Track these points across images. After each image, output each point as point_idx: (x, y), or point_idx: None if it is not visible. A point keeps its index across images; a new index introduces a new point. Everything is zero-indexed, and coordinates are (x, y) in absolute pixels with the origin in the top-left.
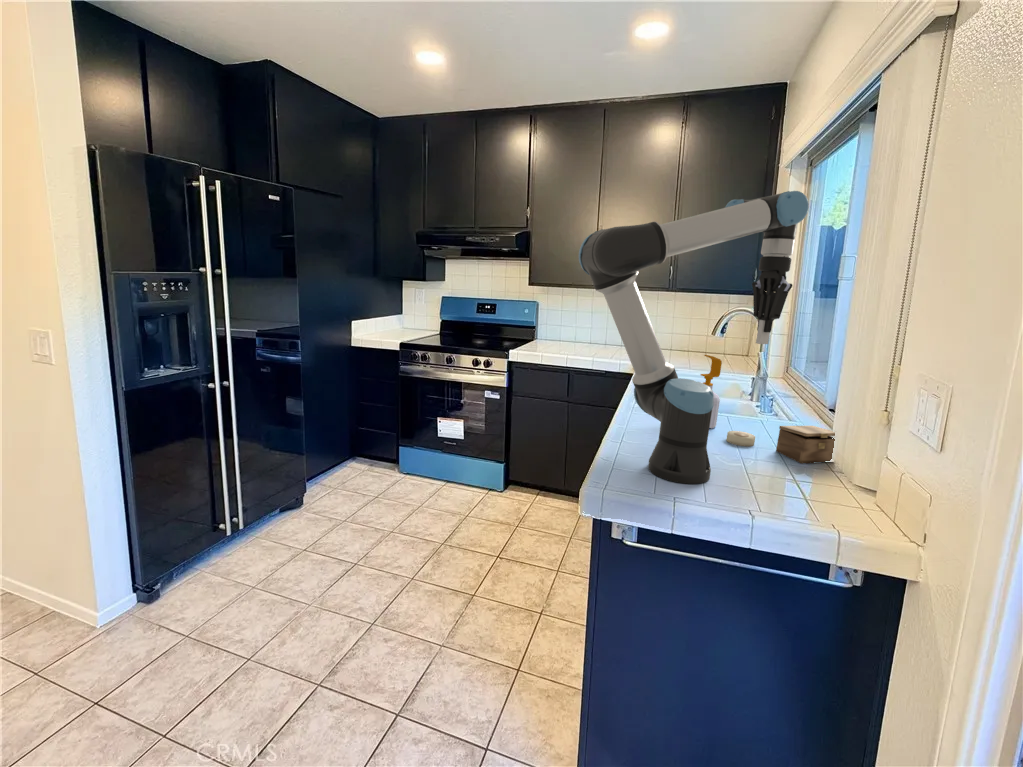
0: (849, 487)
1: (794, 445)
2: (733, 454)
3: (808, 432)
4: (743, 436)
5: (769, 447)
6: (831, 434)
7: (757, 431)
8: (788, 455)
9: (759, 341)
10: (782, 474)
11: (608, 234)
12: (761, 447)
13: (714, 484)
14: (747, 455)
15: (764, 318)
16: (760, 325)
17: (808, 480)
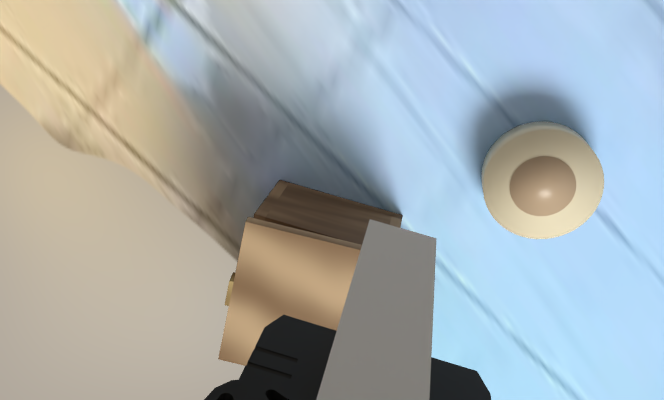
0: (91, 126)
1: (311, 212)
2: (440, 5)
3: (258, 249)
4: (518, 170)
5: (442, 232)
6: (226, 321)
7: (600, 369)
8: (339, 200)
9: (372, 235)
10: (221, 6)
11: None
12: (455, 202)
13: None
14: (409, 56)
15: (210, 397)
16: (377, 370)
17: (159, 49)
